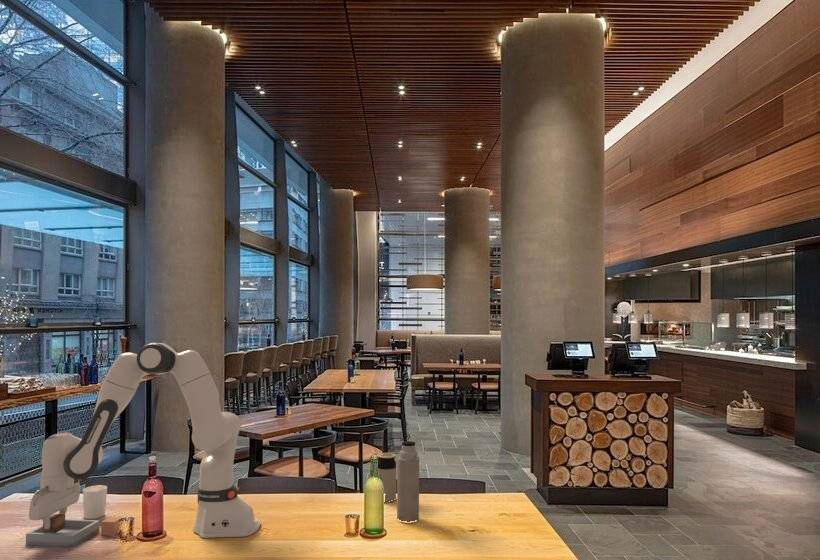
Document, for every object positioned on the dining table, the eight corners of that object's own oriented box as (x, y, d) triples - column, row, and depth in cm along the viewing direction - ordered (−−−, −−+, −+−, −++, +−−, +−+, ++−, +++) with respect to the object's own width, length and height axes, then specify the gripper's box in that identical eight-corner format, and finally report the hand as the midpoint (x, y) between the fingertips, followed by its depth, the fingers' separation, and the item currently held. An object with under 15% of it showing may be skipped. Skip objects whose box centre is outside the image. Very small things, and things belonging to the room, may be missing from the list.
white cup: (95, 520, 214) (96, 492, 215) (76, 518, 216) (77, 490, 216) (111, 513, 222) (112, 486, 222) (92, 511, 223) (93, 484, 224)
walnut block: (64, 528, 200) (65, 514, 200) (55, 532, 196) (56, 518, 196) (52, 527, 200) (52, 513, 201) (42, 532, 196) (43, 518, 196)
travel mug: (391, 496, 245) (392, 451, 246) (398, 501, 238) (399, 456, 239) (373, 498, 242) (373, 453, 243) (379, 504, 235) (380, 457, 236)
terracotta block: (121, 530, 204) (121, 517, 205) (113, 535, 200) (114, 522, 200) (109, 530, 205) (109, 517, 205) (101, 535, 200) (101, 521, 200)
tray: (99, 530, 204) (99, 520, 204) (72, 546, 190) (72, 535, 190) (55, 529, 205) (55, 518, 205) (25, 544, 191) (26, 533, 191)
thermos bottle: (392, 519, 218) (393, 441, 219) (410, 514, 223) (410, 438, 224) (405, 525, 211) (406, 445, 213) (423, 520, 216) (423, 442, 218)
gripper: (42, 492, 188) (41, 536, 187) (84, 474, 209) (82, 515, 208) (24, 491, 189) (22, 536, 188) (67, 474, 209) (65, 514, 208)
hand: (54, 524), depth 198 cm, fingers closed on walnut block, 4 cm apart
